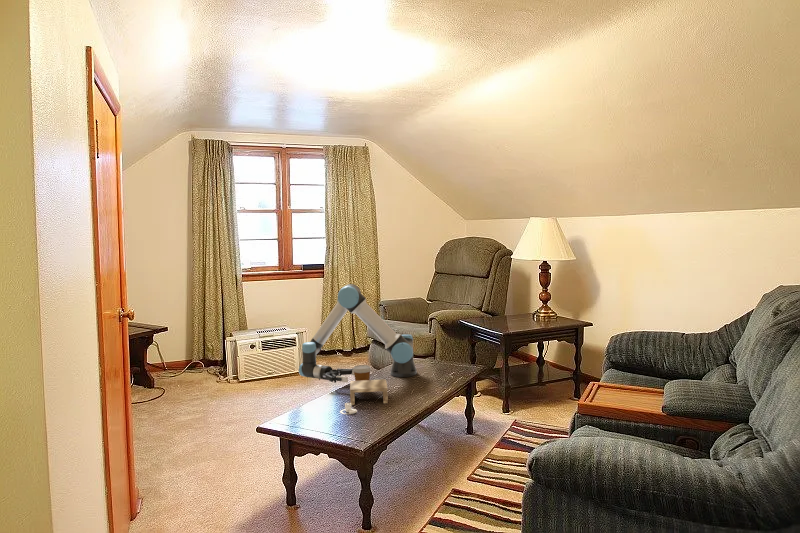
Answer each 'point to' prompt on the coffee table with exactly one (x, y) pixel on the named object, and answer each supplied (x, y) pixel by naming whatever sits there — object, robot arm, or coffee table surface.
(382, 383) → the maple shelf
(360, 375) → the disposable coffee cup
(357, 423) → the coffee table surface
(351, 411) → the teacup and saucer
